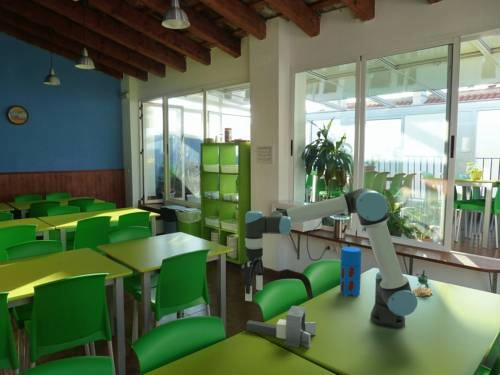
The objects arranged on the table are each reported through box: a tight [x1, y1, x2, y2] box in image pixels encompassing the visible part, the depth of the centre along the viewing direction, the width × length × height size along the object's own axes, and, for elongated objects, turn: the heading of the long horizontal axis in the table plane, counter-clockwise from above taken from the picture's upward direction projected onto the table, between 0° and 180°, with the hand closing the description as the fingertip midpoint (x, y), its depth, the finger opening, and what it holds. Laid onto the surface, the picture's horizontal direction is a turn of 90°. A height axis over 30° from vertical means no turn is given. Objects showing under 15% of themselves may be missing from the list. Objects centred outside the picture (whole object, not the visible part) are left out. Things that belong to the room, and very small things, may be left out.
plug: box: [245, 318, 286, 340], centre depth 161 cm, size 18×5×6 cm, turn 69°
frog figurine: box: [412, 269, 434, 297], centre depth 208 cm, size 10×18×15 cm, turn 122°
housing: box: [283, 305, 317, 349], centre depth 155 cm, size 10×15×12 cm
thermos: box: [339, 246, 362, 297], centre depth 207 cm, size 11×11×25 cm
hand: (254, 295), depth 162 cm, fingers open, 13 cm apart
